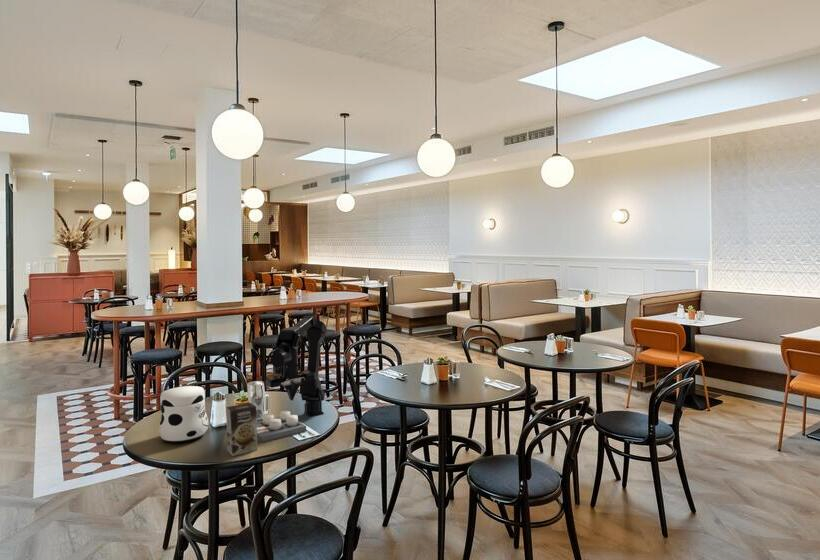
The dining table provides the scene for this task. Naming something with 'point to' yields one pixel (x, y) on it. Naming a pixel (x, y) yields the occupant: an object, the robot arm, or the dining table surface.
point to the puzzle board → (277, 431)
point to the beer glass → (257, 397)
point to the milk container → (183, 414)
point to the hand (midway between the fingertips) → (291, 400)
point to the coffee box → (241, 429)
